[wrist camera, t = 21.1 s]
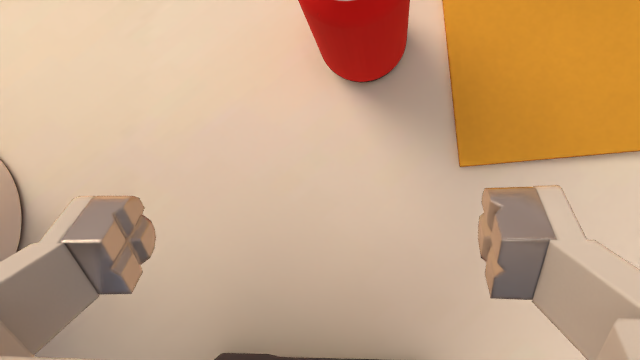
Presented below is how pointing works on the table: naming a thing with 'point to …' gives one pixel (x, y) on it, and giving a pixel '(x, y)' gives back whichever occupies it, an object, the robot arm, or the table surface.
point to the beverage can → (359, 35)
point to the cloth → (543, 78)
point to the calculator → (268, 357)
